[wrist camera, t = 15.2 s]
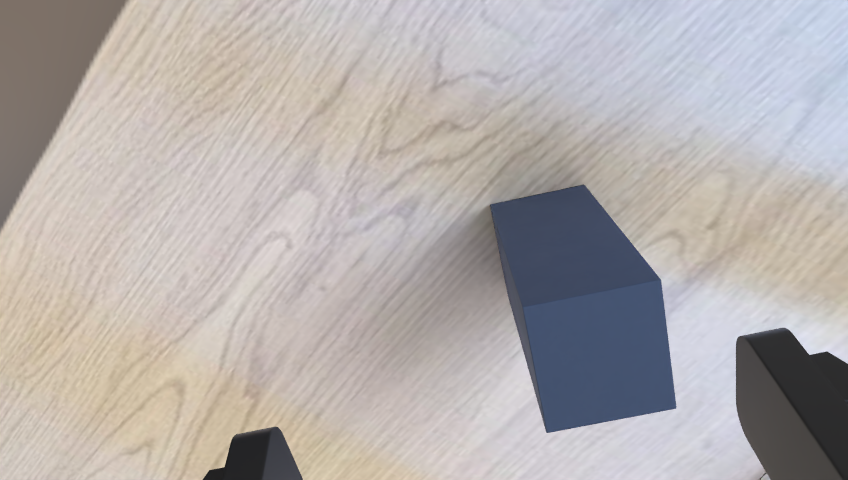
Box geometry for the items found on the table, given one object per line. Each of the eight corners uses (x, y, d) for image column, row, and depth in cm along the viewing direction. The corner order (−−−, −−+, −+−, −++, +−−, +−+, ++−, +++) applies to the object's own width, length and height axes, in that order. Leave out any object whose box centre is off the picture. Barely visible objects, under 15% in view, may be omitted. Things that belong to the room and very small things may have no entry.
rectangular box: (522, 307, 29) (546, 435, 31) (661, 279, 28) (676, 410, 30) (489, 204, 42) (508, 298, 44) (584, 184, 42) (599, 280, 44)
